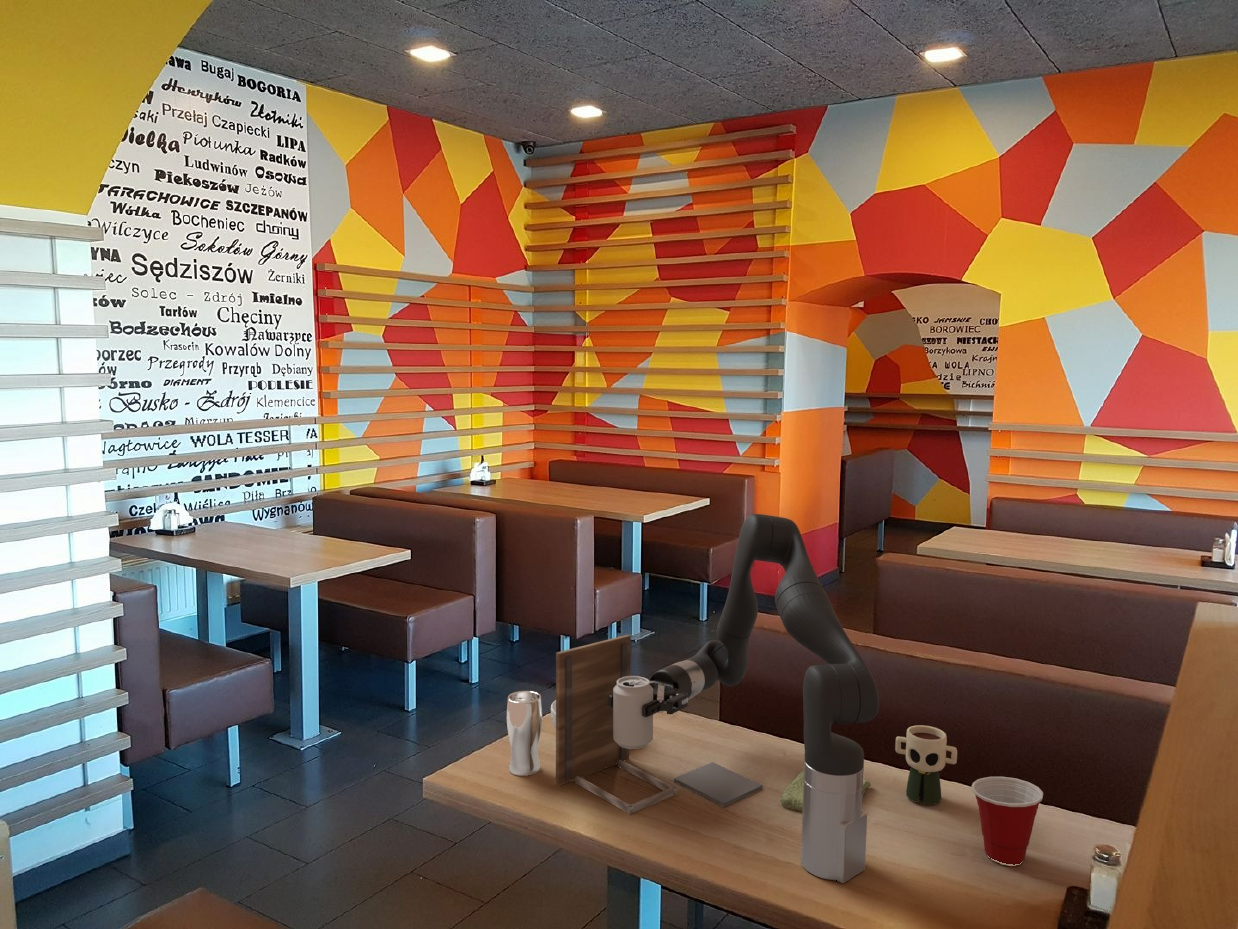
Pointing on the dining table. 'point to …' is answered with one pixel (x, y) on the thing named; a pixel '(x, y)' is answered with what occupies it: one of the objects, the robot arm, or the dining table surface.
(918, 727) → the character mug
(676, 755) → the dining table surface
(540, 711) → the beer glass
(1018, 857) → the plastic cup
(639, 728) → the can
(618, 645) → the wooden stand
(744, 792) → the slate board
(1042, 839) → the dining table surface
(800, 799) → the washcloth
